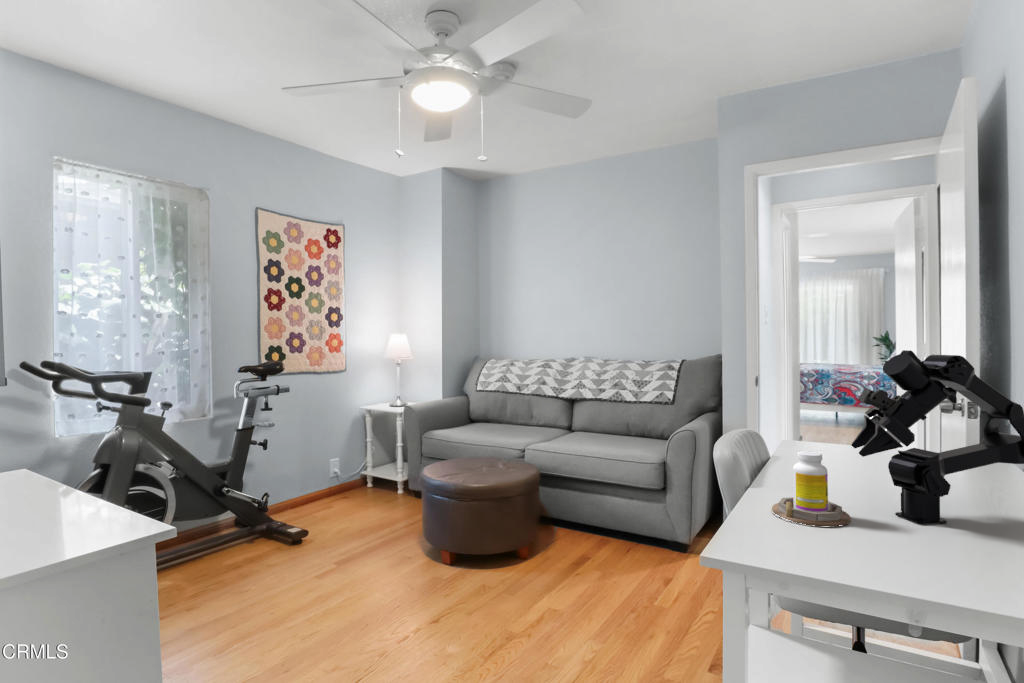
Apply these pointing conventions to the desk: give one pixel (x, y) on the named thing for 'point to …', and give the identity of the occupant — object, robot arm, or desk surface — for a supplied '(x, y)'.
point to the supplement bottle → (810, 483)
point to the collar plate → (809, 522)
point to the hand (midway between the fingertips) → (856, 450)
